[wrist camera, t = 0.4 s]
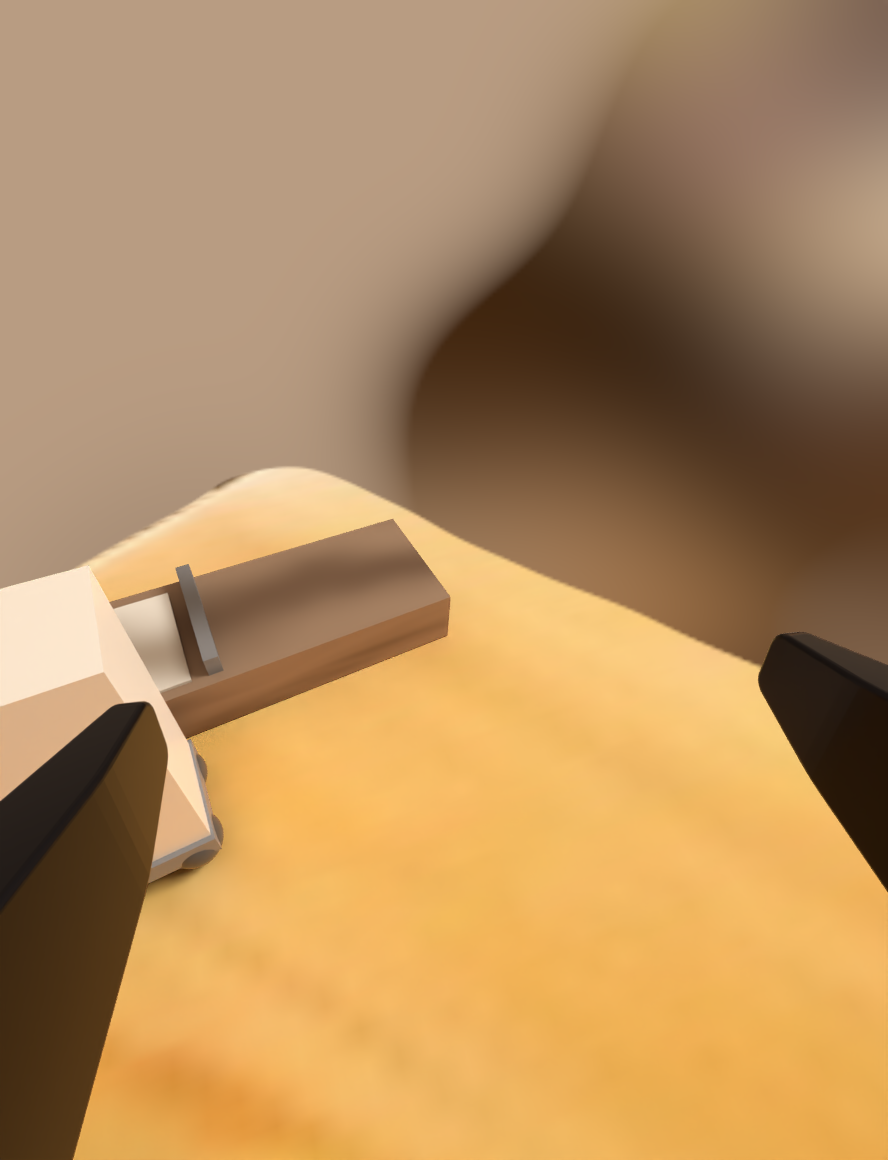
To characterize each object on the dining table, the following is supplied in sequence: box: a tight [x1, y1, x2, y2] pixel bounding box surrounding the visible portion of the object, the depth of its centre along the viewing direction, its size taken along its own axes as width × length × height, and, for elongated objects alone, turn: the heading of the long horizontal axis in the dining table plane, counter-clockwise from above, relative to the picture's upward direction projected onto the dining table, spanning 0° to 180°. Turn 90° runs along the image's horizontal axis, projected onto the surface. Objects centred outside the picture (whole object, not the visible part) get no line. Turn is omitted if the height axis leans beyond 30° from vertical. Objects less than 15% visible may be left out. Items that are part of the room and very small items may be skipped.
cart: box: [0, 565, 223, 883], centre depth 17 cm, size 5×6×12 cm
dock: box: [109, 519, 450, 738], centre depth 26 cm, size 7×21×4 cm, turn 119°
